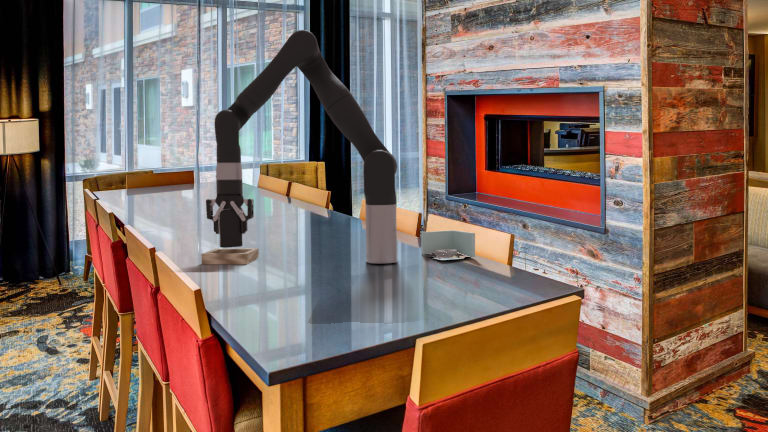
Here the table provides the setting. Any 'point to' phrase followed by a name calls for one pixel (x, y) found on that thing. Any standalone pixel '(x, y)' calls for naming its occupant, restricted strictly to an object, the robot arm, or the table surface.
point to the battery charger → (229, 229)
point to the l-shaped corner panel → (448, 243)
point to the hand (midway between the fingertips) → (230, 233)
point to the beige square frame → (229, 256)
